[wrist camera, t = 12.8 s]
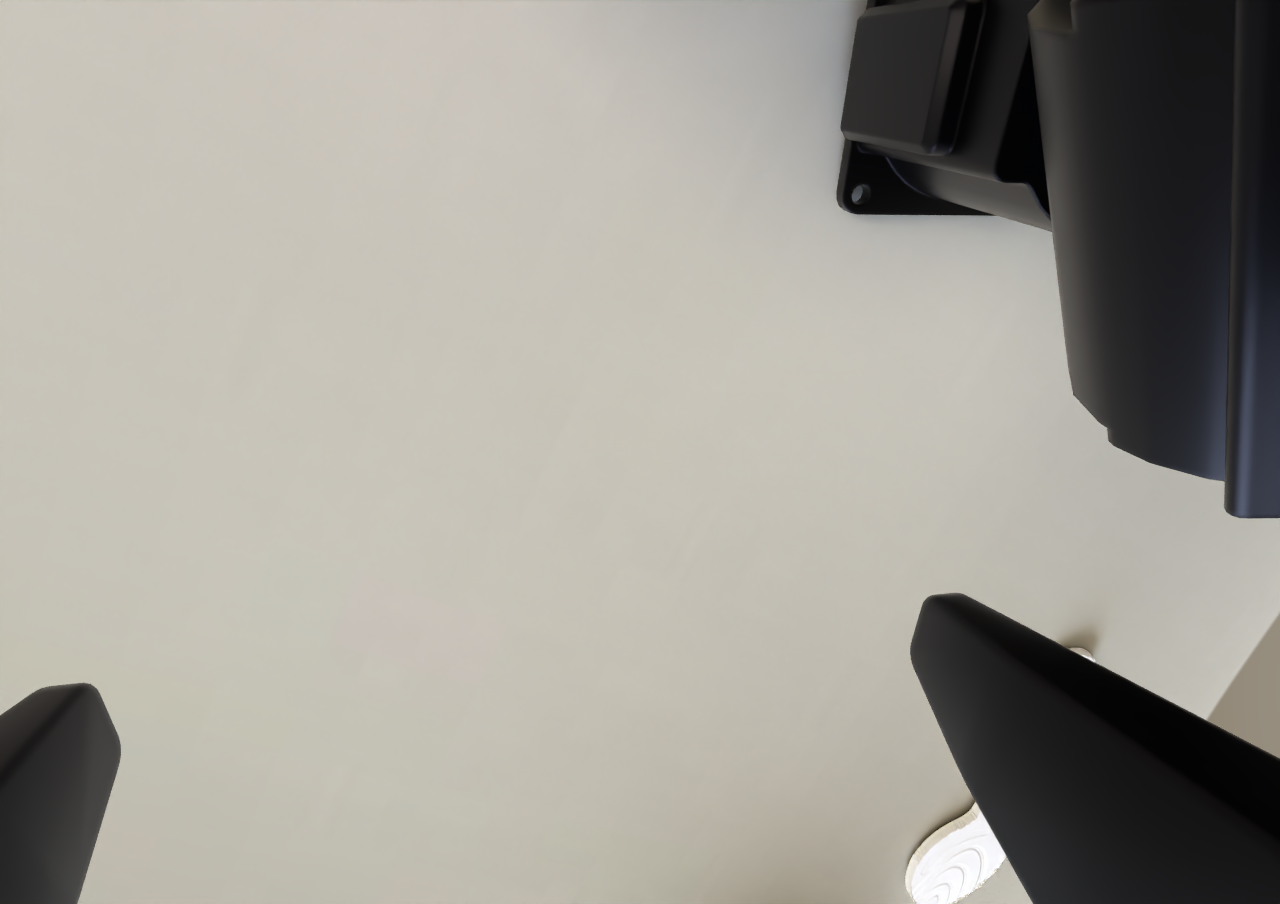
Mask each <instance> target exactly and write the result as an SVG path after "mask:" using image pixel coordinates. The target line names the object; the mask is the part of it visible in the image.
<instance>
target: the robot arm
mask: <svg viewBox="0 0 1280 904" xmlns="http://www.w3.org/2000/svg"><path fill="white" fill-rule="evenodd" d="M841 131H842V132H843V134H844V136H845V143H844V149H843V156H842V162H841V168H840V174H839V180H838V186H837V202H838V204H839V206H840V207H841V208H842V209H843V210H845V211H847V212H850V213H854V214H872V215H989V216H1000V217H1004V218H1007V219H1010V220H1014V221H1017V222H1021V223H1024V224H1028V225H1031V226H1034V227H1038V228H1041V229H1045V230H1048V231H1052V233H1053V241H1054V250H1055V258H1056V267H1057V275H1058V284H1059V293H1060V301H1061V310H1062V318H1063V327H1064V336H1065V344H1066V353H1067V361H1068V368H1069V374H1070V379H1071V384H1072V390H1073V395H1074V396H1075V397H1076V398H1077V399H1078V400H1079V401H1080V402H1081V403H1082V404H1083V406H1084V407H1085V408H1086V409H1087V410H1088V411H1089V412H1090V413H1091V414H1092V415H1093V416H1094V417H1095V419H1096V420H1097V421H1098V422H1099V423H1101V424H1102V425H1104V426H1105V427H1107V429H1108V440H1109V442H1110V443H1111V444H1112V445H1113V446H1115V447H1117V448H1120V449H1122V450H1124V451H1126V452H1128V453H1130V454H1132V455H1134V456H1136V457H1139V458H1141V459H1143V460H1145V461H1147V462H1149V463H1152V464H1156V465H1159V466H1163V467H1166V468H1170V469H1174V470H1177V471H1181V472H1184V473H1188V474H1192V475H1195V476H1199V477H1203V478H1206V479H1212V480H1219V481H1225V495H1224V508H1225V510H1226V512H1227V513H1229V514H1230V515H1232V516H1235V517H1238V518H1280V0H868V2H867V8H866V11H865V12H864V13H863V14H862V15H861V16H860V17H859V19H858V21H857V26H856V32H855V39H854V45H853V51H852V58H851V64H850V70H849V77H848V83H847V89H846V96H845V102H844V108H843V115H842V121H841ZM858 185H861V186H862V189H863V193H862V195H861V198H860V199H859V200H857V201H856V202H853V201H852V192H853V190H854V189H855V188H856V187H857V186H858ZM910 655H911V661H912V664H913V667H914V670H915V672H916V674H917V676H918V679H919V681H920V683H921V685H922V688H923V690H924V692H925V694H926V697H927V699H928V701H929V703H930V706H931V708H932V710H933V712H934V715H935V717H936V719H937V721H938V724H939V726H940V728H941V730H942V733H943V735H944V737H945V739H946V742H947V744H948V746H949V748H950V751H951V753H952V755H953V757H954V760H955V762H956V764H957V766H958V768H959V770H960V772H961V774H962V777H963V779H964V781H965V783H966V785H967V786H968V788H969V790H970V792H971V794H972V796H973V798H974V800H975V801H976V803H977V805H978V807H979V809H980V810H981V812H982V814H983V816H984V817H985V819H986V821H987V823H988V824H989V826H990V828H991V830H992V832H993V833H994V835H995V837H996V839H997V840H998V842H999V844H1000V846H1001V848H1002V849H1003V851H1004V853H1005V855H1006V856H1007V858H1008V860H1009V862H1010V863H1011V865H1012V867H1013V869H1014V871H1015V872H1016V874H1017V876H1018V878H1019V879H1020V881H1021V883H1022V885H1023V886H1024V888H1025V890H1026V892H1027V894H1028V895H1029V897H1030V899H1031V901H1032V902H1033V904H1280V759H1279V758H1277V757H1276V756H1273V755H1272V754H1270V753H1268V752H1266V751H1264V750H1262V749H1260V748H1258V747H1256V746H1254V745H1252V744H1251V743H1249V742H1247V741H1245V740H1243V739H1241V738H1239V737H1237V736H1235V735H1233V734H1231V733H1229V732H1227V731H1226V730H1224V729H1221V728H1220V727H1218V726H1216V725H1214V724H1212V723H1210V722H1208V721H1206V720H1204V719H1203V718H1201V717H1199V716H1197V715H1195V714H1193V713H1191V712H1189V711H1187V710H1185V709H1183V708H1181V707H1179V706H1178V705H1176V704H1174V703H1172V702H1170V701H1168V700H1166V699H1164V698H1162V697H1160V696H1158V695H1156V694H1155V693H1153V692H1151V691H1149V690H1147V689H1145V688H1143V687H1141V686H1139V685H1137V684H1135V683H1133V682H1131V681H1130V680H1128V679H1126V678H1124V677H1122V676H1120V675H1118V674H1116V673H1114V672H1112V671H1110V670H1108V669H1106V668H1105V667H1103V666H1101V665H1099V664H1097V663H1095V662H1093V661H1091V660H1089V659H1087V658H1085V657H1083V656H1082V655H1080V654H1078V653H1076V652H1074V651H1072V650H1070V649H1068V648H1066V647H1064V646H1062V645H1060V644H1058V643H1057V642H1055V641H1053V640H1051V639H1049V638H1047V637H1045V636H1043V635H1041V634H1039V633H1037V632H1035V631H1034V630H1032V629H1030V628H1028V627H1026V626H1024V625H1022V624H1020V623H1018V622H1016V621H1014V620H1012V619H1010V618H1009V617H1007V616H1005V615H1003V614H1001V613H999V612H997V611H995V610H993V609H991V608H989V607H987V606H986V605H984V604H982V603H980V602H978V601H976V600H974V599H972V598H970V597H968V596H966V595H964V594H961V593H948V594H938V595H932V596H929V597H928V598H927V599H926V600H925V601H924V602H923V605H922V608H921V611H920V614H919V618H918V621H917V625H916V628H915V632H914V635H913V638H912V642H911V646H910ZM120 756H121V745H120V740H119V736H118V734H117V732H116V730H115V727H114V725H113V723H112V720H111V718H110V716H109V714H108V711H107V709H106V707H105V704H104V702H103V700H102V697H101V695H100V693H99V692H98V690H97V688H95V687H94V686H93V685H91V684H87V683H77V684H67V685H58V686H49V687H45V688H41V689H39V690H37V691H35V692H34V693H32V694H30V695H29V696H28V697H26V698H25V699H23V700H22V701H20V702H19V703H18V704H16V705H15V706H13V707H12V708H10V709H9V710H7V711H6V712H5V713H3V714H2V715H0V904H77V903H78V900H79V897H80V893H81V890H82V887H83V883H84V880H85V877H86V873H87V870H88V867H89V863H90V860H91V857H92V853H93V850H94V847H95V843H96V840H97V837H98V833H99V830H100V827H101V823H102V820H103V817H104V813H105V810H106V807H107V803H108V800H109V797H110V793H111V790H112V787H113V783H114V780H115V777H116V773H117V770H118V767H119V762H120Z"/></svg>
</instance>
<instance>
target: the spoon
mask: <svg viewBox="0 0 1280 904" xmlns="http://www.w3.org/2000/svg"><path fill="white" fill-rule="evenodd" d="M1069 649H1070V650H1072V651H1074V652H1076V653H1078V654H1080V655H1082V656H1083V657H1085V658H1087V659H1089V660H1091V661H1093V662H1095V663H1097V662H1096V661H1095V659H1094V658H1093V657H1092V656H1091V654H1090V653H1089V652H1088V651H1087V650H1085V649H1083V648H1069ZM1005 857H1006V855H1005V853H1004V851H1003V849H1002V848H1001V846H1000V844H999V842H998V840H997V839H996V837H995V835H994V833H993V832H992V830H991V828H990V826H989V824H988V823H987V821H986V819H985V817H984V816H983V814H982V812H981V810H980V809H979V807H978V805H977V803H976V801H975V803H974V805H973V806H972V808H971V809H970V810H969V811H968V812H967V813H966V814H965V815H963V816H962V817H959V818H958V819H955V820H953V821H951V822H950V823H948V824H946V825H945V826H943V827H941V828H940V829H938V830H937V831H936V832H935V833H933V834H932V835H931V836H930V837H928V838H927V839H926V840H925V841H924V842H923V843H922V844H921V846H920V847H919V848H918V849H917V851H916V852H915V854H913V856H912V858H911V860H910V862H909V865H908V868H907V872H906V875H905V876H906V878H905V879H906V880H905V883H906V884H905V885H906V889H907V891H908V893H909V895H910V897H911V898H912V900H913V901H914V903H915V904H954V902H956V903H957V901H959V900H960V899H962V898H963V897H966V896H968V894H969V893H971V892H972V891H974V890H976V889H975V888H976V887H977V888H979V886H980V887H981V886H982V885H981V884H983V882H984V883H986V881H985V880H987V879H988V877H990V876H991V875H992V874H993V872H995V871H997V868H998V867H999V868H1000V865H1002V861H1003V860H1004V859H1005ZM995 873H996V872H995Z"/></svg>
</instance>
